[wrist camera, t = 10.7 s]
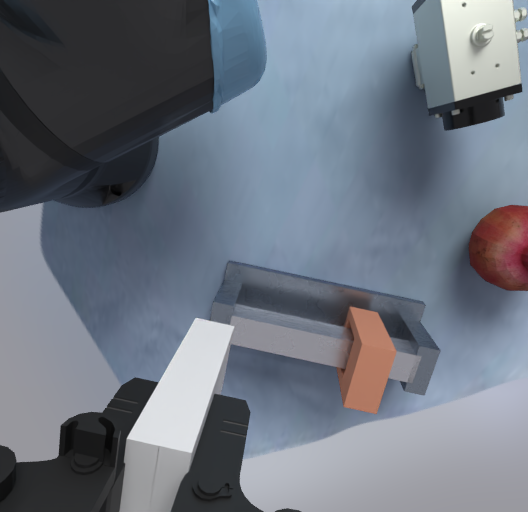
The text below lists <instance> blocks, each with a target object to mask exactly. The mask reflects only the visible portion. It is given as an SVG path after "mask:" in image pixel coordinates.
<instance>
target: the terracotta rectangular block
mask: <svg viewBox="0 0 528 512" xmlns="http://www.w3.org/2000/svg"><path fill="white" fill-rule="evenodd" d="M344 327H346V328H351V329H352V332H353V335H354V341H353V345H352V348H351V352H350V355H349V359H348V362H347V366H346V369H343V368H339V367H337V373H338V378H339V384H340V389H341V395H342V400H343V406H344V407H347V408H351V409H356V410H360V411H365V412H370V413H374V414H377V411H378V408H379V405H380V402H381V399H382V395H383V392H384V389H385V386H386V383H387V380H388V377H389V374H390V371H391V368H392V365H393V362H394V359H395V355H396V352H397V351H396V349H395V347H394V345H393V343H392V341H391V339H390V337H389V335H388V332H387V330H386V328H385V326H384V324H383V322H382V320H381V318H380V316H379V314H378V312H374V311H369V310H364V309H360V308H355V307H349V311H348V314H347V318H346V322H345V325H344Z"/></svg>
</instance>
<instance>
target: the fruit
mask: <svg viewBox="0 0 528 512" xmlns="http://www.w3.org/2000/svg"><path fill="white" fill-rule="evenodd" d="M469 256H470V265H471V266H472V267H473V268H474V269H475V270H476V272H477V273H478V274H479V275H480V276H481V277H482V278H483V279H484V280H485V281H487V282H489V283H491V284H494V285H496V286H498V287H500V288H503V289H505V290H512V291H528V206H518V205H509V206H505V207H501V208H496V209H494V210H493V211H492V212H490V213H489V214H488V215H486V216H485V217H484V218H482V219H481V220H480V222H479V223H478V224H477V226H476V227H475V229H474V230H473V232H472V235H471V238H470V242H469Z"/></svg>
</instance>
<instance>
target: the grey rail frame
mask: <svg viewBox="0 0 528 512" xmlns="http://www.w3.org/2000/svg"><path fill="white" fill-rule="evenodd" d="M425 306H426V305H425V304H424V302H422V301H417V300H413V299H408V298H403V297H399V296H394V295H389V294H384V293H380V292H375V291H370V290H366V289H361V288H356V287H352V286H347V285H342V284H337V283H333V282H328V281H323V280H319V279H314V278H309V277H305V276H300V275H295V274H290V273H286V272H281V271H276V270H272V269H267V268H262V267H258V266H253V265H248V264H243V263H239V262H234V261H229V262H228V264H227V270H226V275H225V280H224V282H223V284H222V286H221V288H220V290H219V292H218V294H217V296H216V297H215V299H214V301H213V306H212V312H211V317H210V321H213V322H217V323H222V324H227V325H231V326H234V331H233V336H232V341H231V344H233V345H237V346H242V347H246V348H251V349H256V350H260V351H265V352H269V353H274V354H279V355H283V356H288V357H293V358H297V359H302V360H306V361H311V362H316V363H320V364H325V365H329V366H334V367H339V368H343V369H346V366H347V362H348V359H349V355H350V352H351V348H352V345H353V341H354V335H353V332H352V329H351V328H346V327H344V325H345V322H346V318H347V314H348V311H349V307H355V308H360V309H364V310H369V311H374V312H378V314H379V316H380V318H381V320H382V322H383V324H384V326H385V328H386V330H387V332H388V335H389V337H390V339H391V341H392V343H393V345H394V347H395V349H396V351H397V352H396V355H395V359H394V362H393V365H392V368H391V371H390V374H389V377H388V378H389V379H394V380H399V381H400V382H401V385H402V387H403V389H404V391H406V392H411V393H415V394H420V395H425V392H426V390H427V387H428V384H429V381H430V378H431V376H432V373H433V370H434V367H435V365H436V362H437V359H438V356H439V353H440V349H439V348H438V346H437V345H436V344H435V342H434V341H433V339H432V338H431V336H430V335H429V334H428V332H427V331H426V329H425V328H424V326H423V325H422V324H421V322H420V321H421V318H422V315H423V312H424V309H425Z"/></svg>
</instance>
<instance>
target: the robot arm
mask: <svg viewBox="0 0 528 512" xmlns="http://www.w3.org/2000/svg"><path fill="white" fill-rule="evenodd" d="M266 60H267V51H266V42H265V36H264V31H263V25H262V20H261V16H260V11H259V7H258V3H257V0H0V212H5V211H9V210H13V209H18V208H22V207H26V206H30V205H34V204H38V203H43V202H47V201H51V200H54V201H57V202H60V203H63V204H66V205H70V206H75V207H82V208H93V207H101V206H105V205H109V204H112V203H115V202H118V201H120V200H123V199H125V198H126V197H128V196H130V195H131V194H133V193H134V192H135V191H136V190H137V189H138V188H139V187H140V186H141V185H142V184H143V183H144V182H145V180H146V179H147V178H148V176H149V174H150V172H151V170H152V168H153V166H154V163H155V160H156V156H157V151H158V137H159V136H161V135H163V134H165V133H167V132H169V131H171V130H173V129H175V128H177V127H179V126H181V125H183V124H185V123H187V122H189V121H191V120H193V119H195V118H197V117H198V116H200V115H202V114H204V113H206V112H208V111H210V113H215V112H217V111H218V110H219V108H220V107H221V105H223V104H224V103H226V102H228V101H230V100H231V99H233V98H235V97H237V96H239V95H240V94H242V93H244V92H246V91H247V90H249V89H251V88H252V87H254V86H255V85H256V84H257V83H258V82H259V81H260V79H261V77H262V75H263V73H264V70H265V66H266ZM233 331H234V326H231V325H227V324H222V323H217V322H213V321H208V320H203V319H199V318H196V319H195V320H194V322H193V324H192V326H191V327H190V329H189V331H188V333H187V334H186V336H185V338H184V339H183V341H182V343H181V345H180V346H179V348H178V350H177V352H176V353H175V355H174V357H173V359H172V360H171V362H170V364H169V366H168V367H167V369H166V371H165V373H164V374H163V376H162V378H161V380H160V381H159V383H158V382H154V381H149V380H145V379H140V378H133V379H132V380H130V381H128V382H127V383H125V384H123V385H122V386H121V387H120V389H119V390H118V392H117V393H116V394H115V396H114V398H113V399H112V400H111V401H110V403H109V404H108V405H107V408H105V410H104V411H103V413H98V412H89V413H82V414H79V415H76V416H74V417H72V418H69V419H68V420H67V421H66V422H64V423H63V424H62V425H61V430H60V445H59V456H58V457H57V458H56V459H52V460H47V461H39V462H19V463H16V457H15V454H14V452H13V451H11V450H10V449H9V448H8V447H5V446H1V445H0V512H263V511H261V510H259V509H258V508H257V507H255V506H254V505H252V504H251V503H250V502H249V501H248V499H247V498H246V497H245V496H244V494H243V492H242V490H241V487H240V470H241V465H242V459H243V453H244V447H245V441H246V435H247V430H248V424H249V418H250V410H249V408H248V405H247V403H246V400H241V399H237V398H232V397H227V396H223V395H220V394H221V391H222V387H223V382H224V377H225V372H226V367H227V362H228V357H229V351H230V346H231V341H232V336H233ZM275 512H301V511H299V510H293V509H282V510H277V511H275Z"/></svg>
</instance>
